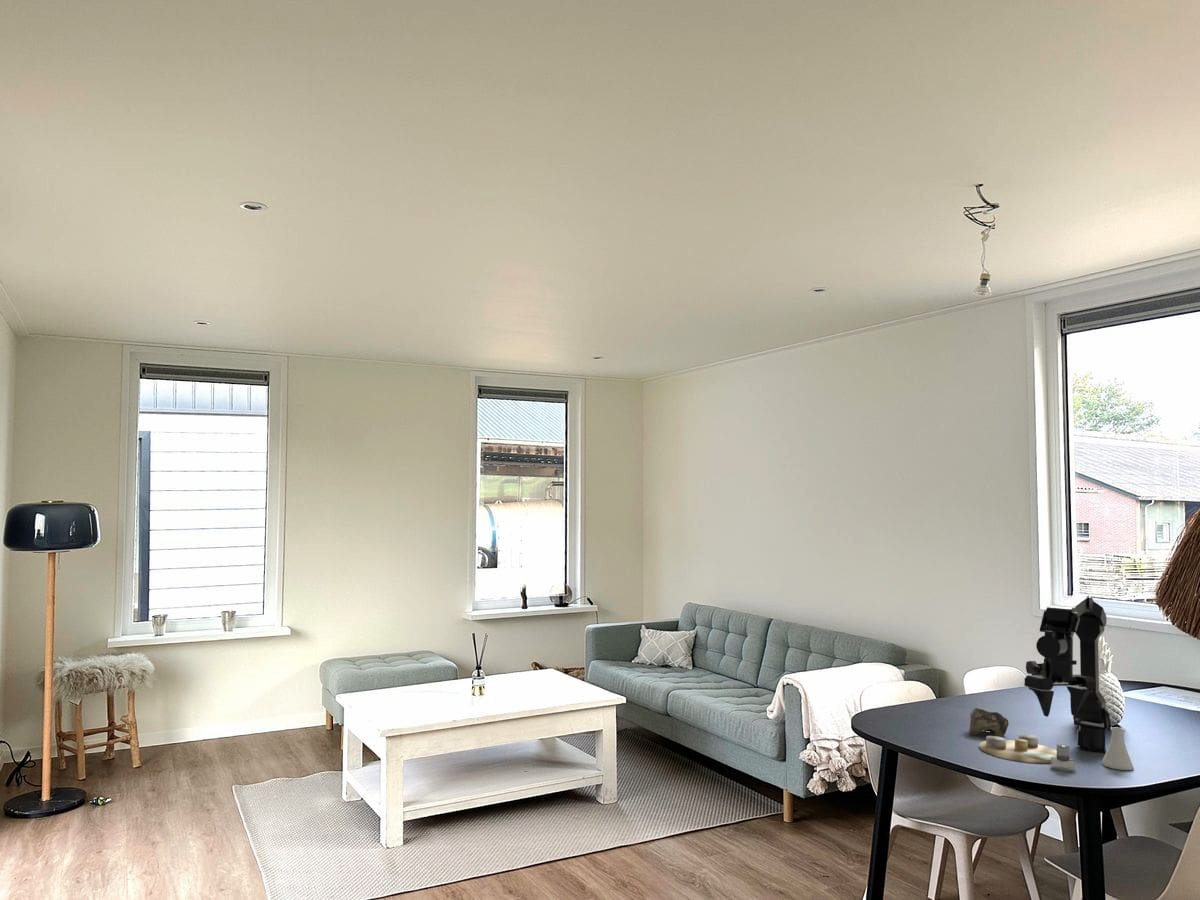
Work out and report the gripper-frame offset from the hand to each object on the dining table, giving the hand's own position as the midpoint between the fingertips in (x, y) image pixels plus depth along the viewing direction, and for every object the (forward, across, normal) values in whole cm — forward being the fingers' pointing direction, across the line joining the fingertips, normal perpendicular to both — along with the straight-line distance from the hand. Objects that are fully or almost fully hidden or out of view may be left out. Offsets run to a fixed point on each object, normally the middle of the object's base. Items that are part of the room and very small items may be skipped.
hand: (1059, 715), depth 234 cm
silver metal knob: (+13, 0, +1) cm, 13 cm away
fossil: (+14, -7, -33) cm, 37 cm away
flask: (+13, -17, +2) cm, 22 cm away
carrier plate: (+13, -2, -15) cm, 20 cm away
